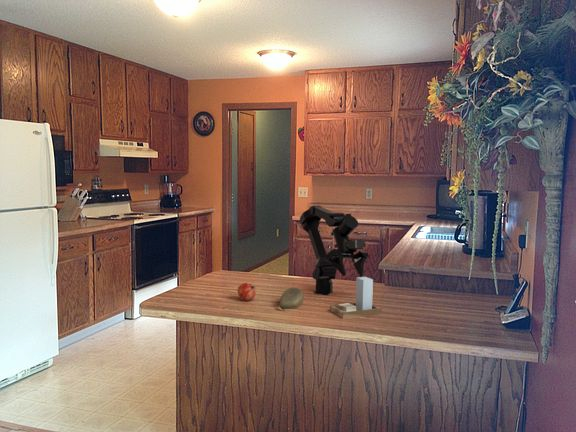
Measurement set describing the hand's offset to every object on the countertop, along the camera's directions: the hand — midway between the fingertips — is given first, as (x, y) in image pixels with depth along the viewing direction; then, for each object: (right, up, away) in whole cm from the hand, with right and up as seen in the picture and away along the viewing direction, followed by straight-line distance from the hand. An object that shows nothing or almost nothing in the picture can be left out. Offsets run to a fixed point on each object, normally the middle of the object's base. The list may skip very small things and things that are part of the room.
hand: (353, 276), depth 186 cm
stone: (-24, -12, +1) cm, 27 cm away
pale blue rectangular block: (+3, -12, -7) cm, 15 cm away
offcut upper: (-4, -11, -10) cm, 15 cm away
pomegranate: (-42, -11, +9) cm, 45 cm away
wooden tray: (0, -13, -8) cm, 16 cm away
